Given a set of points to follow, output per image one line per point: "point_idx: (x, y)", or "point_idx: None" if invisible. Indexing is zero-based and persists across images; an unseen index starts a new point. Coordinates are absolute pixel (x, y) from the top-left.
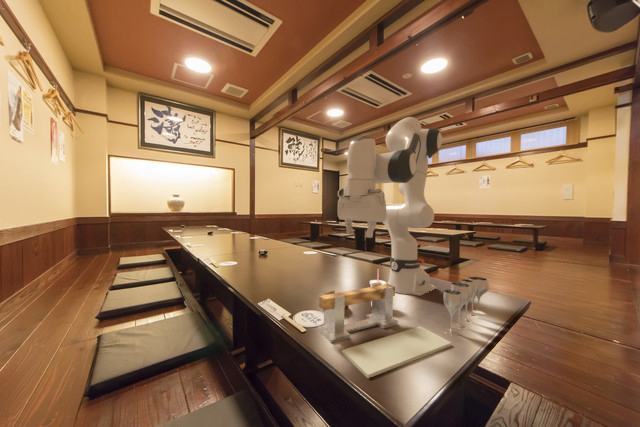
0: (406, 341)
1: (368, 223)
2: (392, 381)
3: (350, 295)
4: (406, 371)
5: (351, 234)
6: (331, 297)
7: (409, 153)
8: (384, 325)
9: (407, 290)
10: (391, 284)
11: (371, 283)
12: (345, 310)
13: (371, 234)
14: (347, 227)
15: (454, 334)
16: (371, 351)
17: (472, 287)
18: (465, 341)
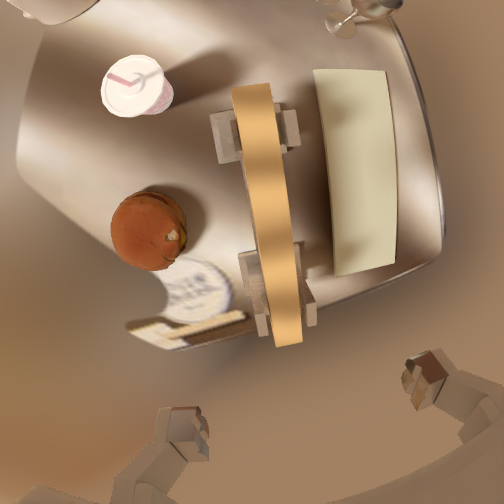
0: (358, 148)
1: (471, 436)
2: (408, 233)
3: (296, 275)
4: (404, 202)
5: (200, 413)
6: (297, 326)
7: None
8: (286, 148)
9: None
10: (59, 12)
11: (136, 115)
12: (174, 207)
13: (443, 365)
14: (182, 471)
15: (353, 30)
16: (359, 232)
17: None
18: (376, 37)
